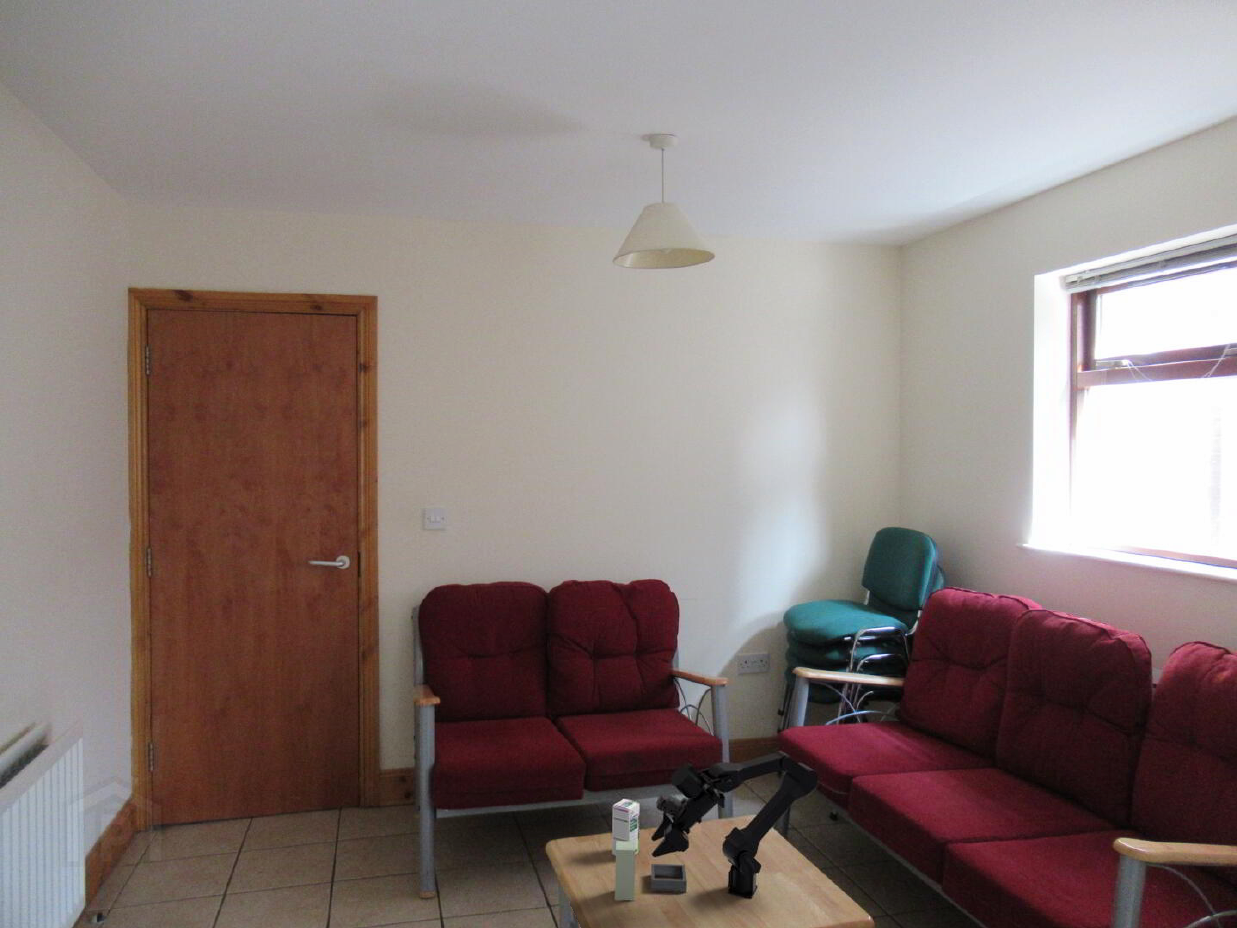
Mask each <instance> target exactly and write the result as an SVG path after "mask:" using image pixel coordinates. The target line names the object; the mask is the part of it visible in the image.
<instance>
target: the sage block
mask: <svg viewBox="0 0 1237 928" xmlns="http://www.w3.org/2000/svg"><path fill="white" fill-rule="evenodd" d="M636 855H637V854H636V842H626V841H616V856H615V876H614V877H615V879H614V880H615V881H614V901H622V900H630V901H629V902H631V901H632V902H635V891H636V887H635V886H636V885H635V884H636Z"/></svg>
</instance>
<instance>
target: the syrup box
mask: <svg viewBox="0 0 1237 928" xmlns="http://www.w3.org/2000/svg"><path fill="white" fill-rule="evenodd" d="M611 826H612V833H611V834H612V839H611V842H612V843H611V849H612V850H611V855H613V856H615V857H616V841H626V842H636V855H637V854H638V852H639V853H640V802H638V801H635V800H632V799H627V798H623V799H622V800H620V801H618V802H616V803H614V804H613V805H612V825H611Z"/></svg>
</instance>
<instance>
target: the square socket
mask: <svg viewBox="0 0 1237 928" xmlns="http://www.w3.org/2000/svg"><path fill="white" fill-rule="evenodd" d="M660 876H670V877H669V878H656V877H660ZM673 878H675V879H673ZM677 878H678V879H677ZM679 878H681V879H679ZM650 882H651V883H650V884H651V885H650V886H651V887H650V888H651V890H652V891H651V892H654V891H662V892H661V893H682V892H685V894H686V893H687V890H688V889H687V887H688V886H687V873H686V865H685V864H669V863H668V864H667V863H666V864H665V863H651V864H650Z"/></svg>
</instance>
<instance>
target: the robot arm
mask: <svg viewBox="0 0 1237 928" xmlns="http://www.w3.org/2000/svg"><path fill="white" fill-rule="evenodd" d="M782 771H783V772H784V775H783V779H782V782H781V786H780V788H779V789H778V790H777V791H776V792H775V793H774V795H772V797H771V798H770V799H769V800H768V801H767V803H765V805H764V806H763V807H762V808H761V809H760V811H759V812H757V814H756V815H755V816H754V817H753V819H752V820H750V821H749V823H748V824H747V825H746V826H745V827H743V828H740V829H739V828H738V827H737V826H734V827H733V828H732V830H731V831H730V833H729V834H727V835H726V836H724V839H725V840H724V841H723V842H722V845H721V847H722V848H721V850H722V854H723V855H724V857H725V858H726V859H727V862H728V863H730V864H731V866H730V868H729V871H728V872H727V873H728V876H727V887H728V889H727V893H728V894H730V895H731V894H732V895H736V896H740V897H744V898H750V899H753V897H754V895H755V893H756V892H757V890H758V887H759V886H758V885H757V874H759V873H760V872H761V869H762V864H761V863H760V862H759V861H758V860H757V859H756V858H755V857H756V856H757V854H758V851H759V847H760V842H761V840H763V838H764V837H765V836H766V835H767V834H768V833H769V831H770V830H771V829H772V828H773V827H774V826H775V825H776V823H777V822H778V821H779V820H780V819H781V818H782V816H784V814H785V813H786V812H787V811H788V810H789V809H790V807H791V806H793V804H794V803H795V802H796V801H797V800H800V799H803V798H805V797H808V795H809V794H811V793H812V792H814V791H815V790H816V789H817V787H818V785H819V783H820V782H819V775H818V773H817V772H816V771H815V770H814V769H812V768H811V767H809V766H807V765H806V764H804V763H803V762H797V761H795V760H794V759H793V758H792V757H791V756H790V755H788V754H787V753H785V752H784V751H781V750H777V751H774V753H770V754H767V755H763V756H759V757H756V758H753V759H748V760H745V761H741V762H737V763H736V762H727V761H726V762H717V763H713V764H711V765H710V766H709V767H707V768H705V769H701V770H698V771H697V769H696V768H695V767H694V766H693V765H692V764H690V763H689V762H688V763H686V765H685V766H682V767H679V768H678V769H676V770H675V771H674V772H673V774H672V775H671V778H670V783H671V785H672V786H673V787H674V788H675V789H676V790H678V791H679V792H680V793H681V794H682V796H684V797H683V798H682V799H681V800H679V799H677V798H676V797H675V796H672V795H670V794H668V793H667V792H666V791H661V792H660V794H659V796H658V798H657V800H656V802H655V803H656V805H655V807H656V809H657V810H659V811H660V812H662V820H661V821H660V823H659V824H658V826H657V828H656V829H655V831H654V832H653V834H652V835H651V838H650V840H651V841H652V842H656V841H658V840H661V839H662V838H663V839H662V840H661V841H660V842H659V844H658V845H657V846H656V847H655V849H654V851H653V850H652V853H651V856H652V857H653V858H658V857H662V856H665V855H669V854H672V853H673V854H674V853H678V852H679V853H681V852H682V853H685V851H687V850H688V849H689V848H690V838H689V836H688V835H690V833H691V829H692V827H694V826H695V825H696V824H697V823H698V824H701V823H702V822H703V818H704V816H706V815H707V814H708V813H709V812H710V811H712V810H713V808H714V807H716V805H718V806H719V807H720V808H722V809H725V800H726V797H725V795H724V794H727V793H731V792H732V791H734V790H736V789H738V788H740V787H741V786H742V785H743V783H745V782H747V781H750V780H753V779H757V778H760V777H764V776H768V775H771V774H775V773H778V772H782ZM716 790H718V791H720V792H717V791H716Z"/></svg>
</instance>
